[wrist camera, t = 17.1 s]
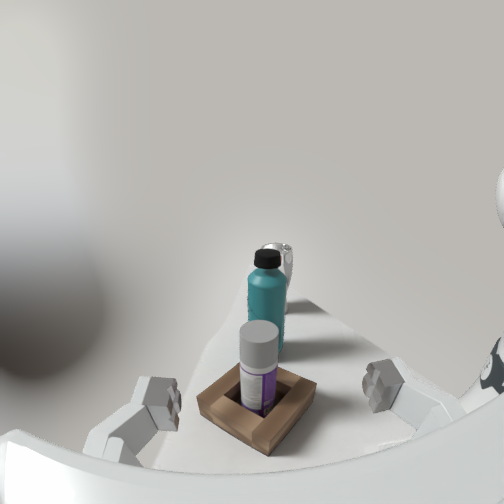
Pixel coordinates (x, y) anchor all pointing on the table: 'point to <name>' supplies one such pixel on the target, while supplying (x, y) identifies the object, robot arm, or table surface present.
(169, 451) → the table surface
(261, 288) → the beverage bottle
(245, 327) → the container
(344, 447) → the table surface
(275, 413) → the socket block
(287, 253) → the beer glass
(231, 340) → the table surface
